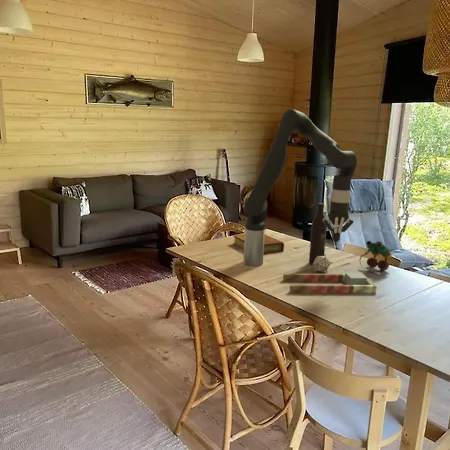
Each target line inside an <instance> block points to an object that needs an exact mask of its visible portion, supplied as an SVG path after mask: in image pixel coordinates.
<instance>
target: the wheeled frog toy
mask: <svg viewBox="0 0 450 450" xmlns="http://www.w3.org/2000/svg"><path fill="white" fill-rule="evenodd" d="M366 246H367V248H368V249H367V250H366V251H365V253H364V254H362V255H360V257H359V264H360V266H361V267H363V266H362V262H361V261H362V260H361V259H362V257H364V256H367V255H368V254H369V252H370V253H371V254H372V255H373V257H368V259H366V265H367V266H368V267H370V268H371V269H373V268H378V269H379V270H380V271H370V270H367V269H366V268H364V271H367V272H369V273H373V274H379V273H383V272H384V271H387V270H388V269H389V267H390V262H389V259H390V258H392V255H393V254H392V252H391V251H390V250H389V249H388V247H386V246H385V245H384V244H383V243H382V242H381V241H380V240H379V241H376V242H372V240H367V241H366ZM379 255H381V256H382V257H383V258H384V260H383V259H381V260H379V261H378V260H377V259H376V257H378V256H379Z"/></svg>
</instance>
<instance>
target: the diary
mask: <svg viewBox="0 0 450 450" xmlns="http://www.w3.org/2000/svg"><path fill="white" fill-rule="evenodd" d="M232 235H233V237H234V242H233V243H232V245H234V246H236V247H238V248H240V249H242V250H243V251H244V243H245V233H241V234H232ZM284 251H285V243H284V242H283V241H281V240H279V239H277V238H274V237H272V236H269V235H267V234H264V254H263V255H266V254H273V253H283V252H284Z"/></svg>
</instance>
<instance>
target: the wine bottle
mask: <svg viewBox="0 0 450 450" xmlns="http://www.w3.org/2000/svg"><path fill="white" fill-rule="evenodd" d="M324 208H325V204H324V203H323V202H318V203H317V211H316V214H315V215H314V217H313V220H312V223H311V229H310V232H311V233H310V243H309V244H310V245H309V258H308V263H309V264H310V265H311V264H313V262H314V260H315V258H316V255H317V256H324V255H325V251H326V250H325V249H326V238H327V229H328V228H327V226H326V225H325V223H324V222H323V220H322V219H323V218H326V217H325V214H324Z"/></svg>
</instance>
